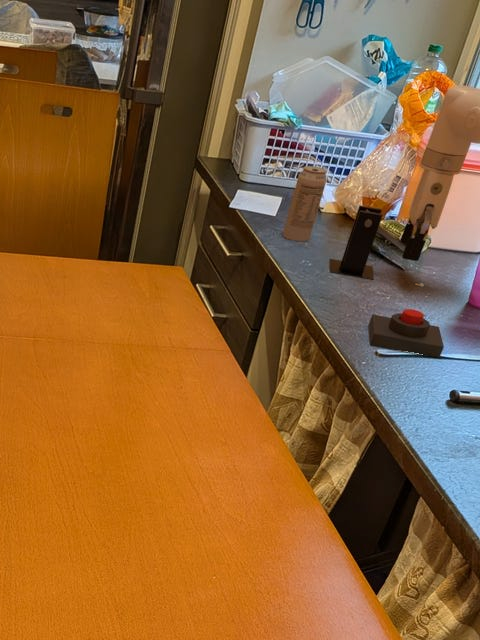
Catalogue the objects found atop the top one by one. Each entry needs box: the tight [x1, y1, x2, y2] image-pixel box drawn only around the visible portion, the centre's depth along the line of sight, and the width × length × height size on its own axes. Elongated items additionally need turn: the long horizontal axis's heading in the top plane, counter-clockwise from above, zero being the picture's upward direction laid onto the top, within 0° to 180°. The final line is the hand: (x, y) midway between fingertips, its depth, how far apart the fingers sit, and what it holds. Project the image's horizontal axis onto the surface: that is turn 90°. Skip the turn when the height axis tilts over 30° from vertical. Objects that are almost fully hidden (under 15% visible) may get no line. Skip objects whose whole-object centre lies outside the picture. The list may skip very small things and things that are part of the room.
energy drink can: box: [282, 165, 328, 243], centre depth 204 cm, size 6×6×15 cm
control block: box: [367, 312, 445, 359], centre depth 167 cm, size 12×10×4 cm
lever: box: [365, 209, 406, 252], centre depth 188 cm, size 13×5×2 cm, turn 74°
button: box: [400, 308, 425, 325], centre depth 165 cm, size 4×4×2 cm
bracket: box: [328, 204, 383, 281], centre depth 191 cm, size 9×9×13 cm
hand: (408, 252), depth 189 cm, fingers open, 9 cm apart
